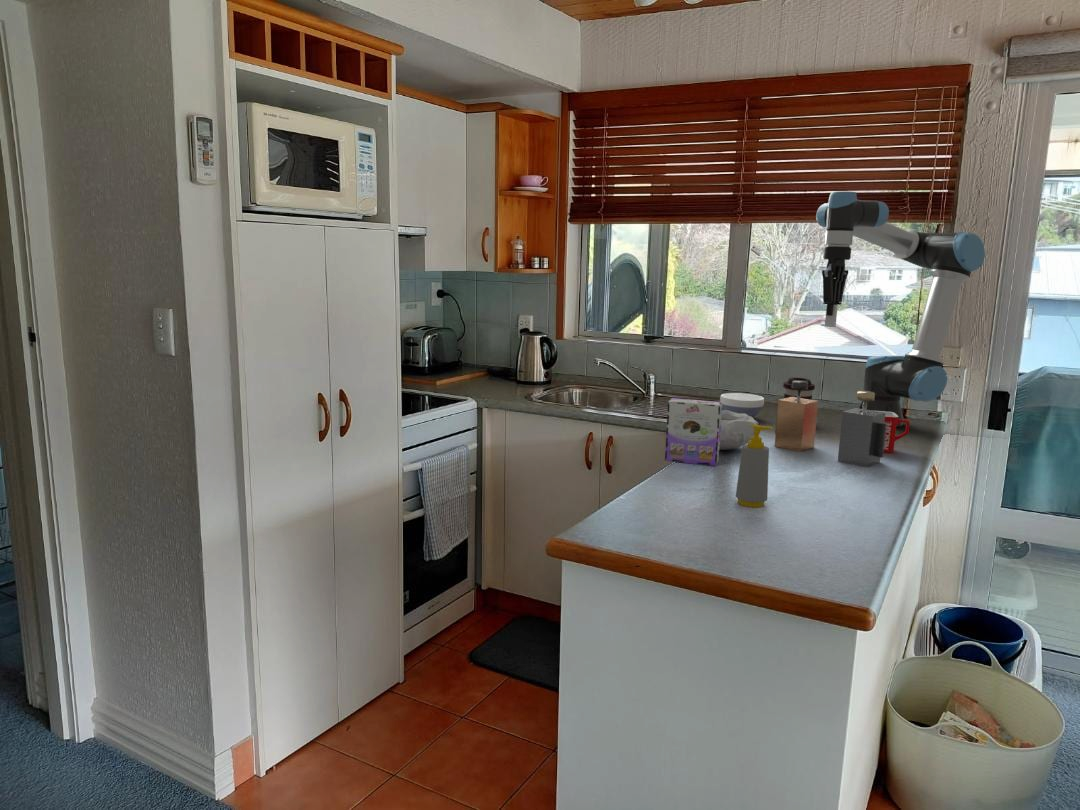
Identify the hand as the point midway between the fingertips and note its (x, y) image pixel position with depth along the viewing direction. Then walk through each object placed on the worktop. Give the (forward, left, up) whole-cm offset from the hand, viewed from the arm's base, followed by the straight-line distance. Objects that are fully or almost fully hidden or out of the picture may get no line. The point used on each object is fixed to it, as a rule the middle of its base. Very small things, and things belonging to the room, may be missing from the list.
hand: (830, 326), depth 239 cm
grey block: (+18, +20, -34) cm, 44 cm away
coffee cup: (-16, -16, -35) cm, 41 cm away
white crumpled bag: (+35, -13, -35) cm, 51 cm away
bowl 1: (-8, -32, -35) cm, 48 cm away
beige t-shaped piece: (+18, +20, -32) cm, 42 cm away
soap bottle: (+75, +20, -35) cm, 85 cm away
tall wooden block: (+16, 0, -34) cm, 38 cm away
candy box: (+54, -10, -35) cm, 65 cm away
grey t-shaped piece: (+16, 0, -32) cm, 36 cm away
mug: (-2, +19, -35) cm, 40 cm away
